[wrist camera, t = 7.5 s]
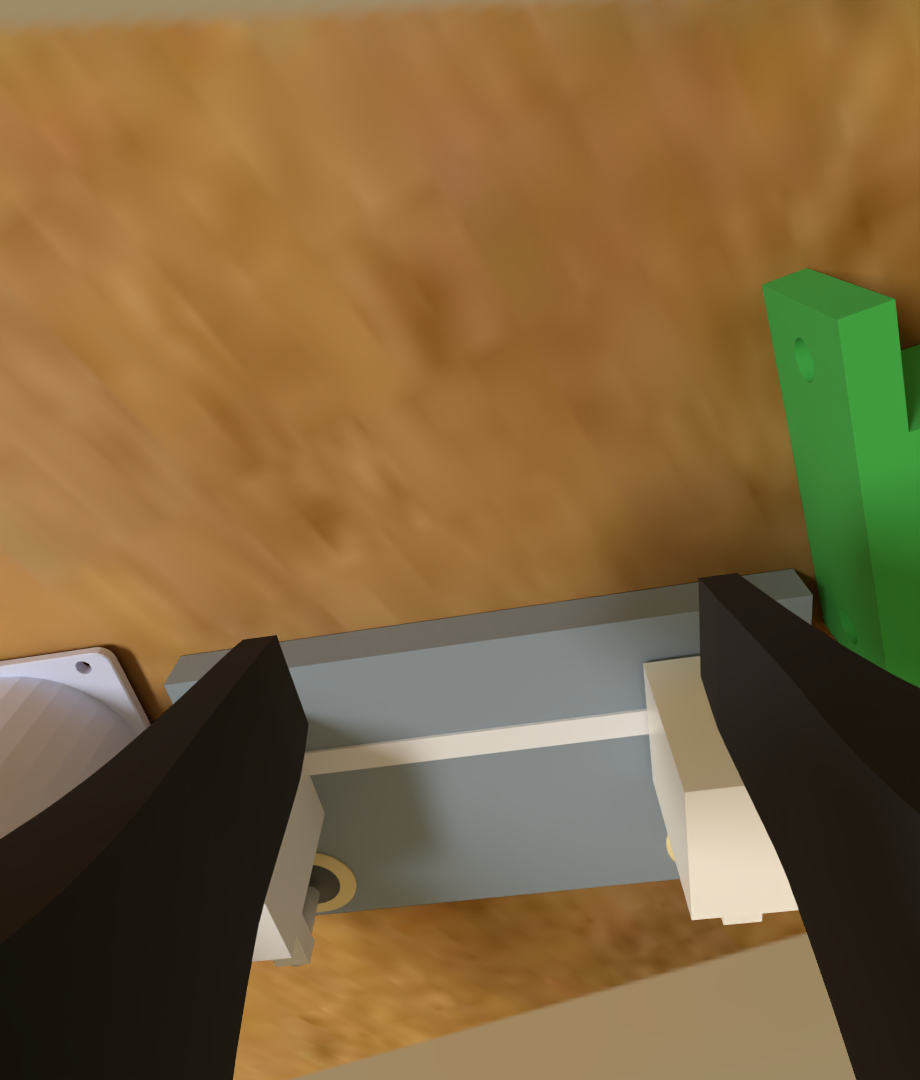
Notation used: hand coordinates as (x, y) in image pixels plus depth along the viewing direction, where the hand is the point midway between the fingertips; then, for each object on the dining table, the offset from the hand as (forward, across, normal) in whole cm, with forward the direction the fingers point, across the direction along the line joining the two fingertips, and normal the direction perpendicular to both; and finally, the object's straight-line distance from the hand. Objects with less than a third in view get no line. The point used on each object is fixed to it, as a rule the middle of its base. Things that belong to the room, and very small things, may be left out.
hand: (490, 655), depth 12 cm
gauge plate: (+9, +1, +11) cm, 15 cm away
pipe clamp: (+10, -10, +2) cm, 14 cm away
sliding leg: (+8, -6, +11) cm, 15 cm away
